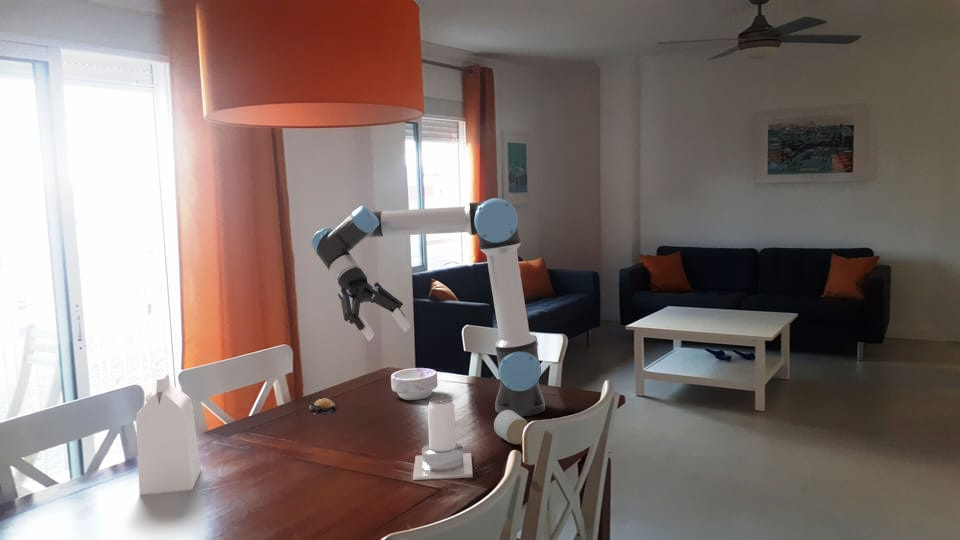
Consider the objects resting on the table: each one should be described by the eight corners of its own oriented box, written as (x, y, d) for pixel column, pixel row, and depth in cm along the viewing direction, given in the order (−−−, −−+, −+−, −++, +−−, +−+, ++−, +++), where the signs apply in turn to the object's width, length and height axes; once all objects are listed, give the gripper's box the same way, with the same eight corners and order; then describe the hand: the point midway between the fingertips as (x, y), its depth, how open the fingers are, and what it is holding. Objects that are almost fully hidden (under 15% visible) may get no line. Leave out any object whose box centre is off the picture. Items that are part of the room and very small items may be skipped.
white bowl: (382, 398, 244) (381, 375, 243) (413, 388, 256) (412, 365, 255) (416, 405, 235) (415, 381, 234) (447, 394, 247) (446, 370, 246)
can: (461, 447, 181) (459, 399, 180) (442, 454, 176) (440, 405, 175) (442, 441, 185) (440, 394, 184) (423, 449, 180) (421, 400, 179)
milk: (192, 489, 173) (183, 380, 170) (139, 495, 171) (129, 384, 168) (200, 470, 185) (192, 368, 182) (151, 475, 182) (142, 372, 180)
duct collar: (471, 456, 188) (470, 437, 188) (472, 477, 174) (471, 457, 174) (415, 458, 188) (414, 440, 187) (412, 480, 174) (411, 460, 173)
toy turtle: (307, 408, 238) (307, 397, 237) (334, 404, 241) (333, 393, 240) (312, 417, 228) (311, 405, 227) (339, 413, 231) (339, 401, 230)
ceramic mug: (508, 448, 193) (507, 419, 192) (493, 439, 200) (493, 411, 199) (543, 441, 197) (542, 413, 197) (527, 433, 205) (527, 406, 204)
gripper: (375, 279, 218) (414, 333, 210) (307, 289, 198) (348, 350, 191) (387, 261, 214) (428, 316, 206) (319, 270, 195) (362, 332, 187)
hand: (390, 333), depth 199 cm, fingers open, 13 cm apart
